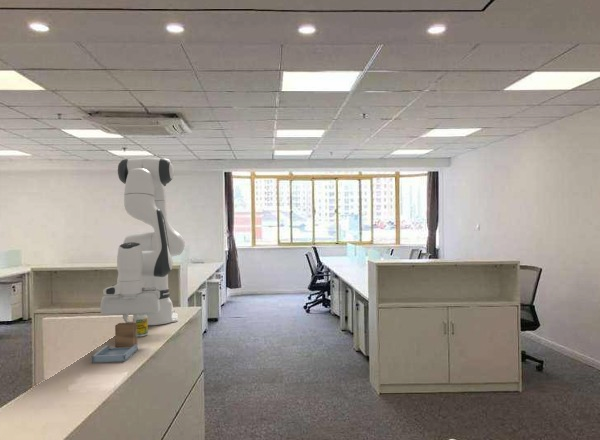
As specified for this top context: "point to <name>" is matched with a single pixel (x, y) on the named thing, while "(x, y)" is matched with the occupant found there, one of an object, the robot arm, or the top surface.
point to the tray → (114, 354)
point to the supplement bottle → (142, 325)
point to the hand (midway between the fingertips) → (131, 326)
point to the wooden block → (125, 334)
